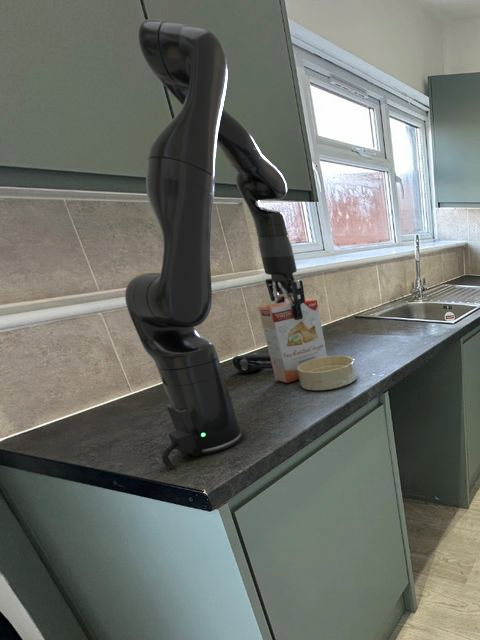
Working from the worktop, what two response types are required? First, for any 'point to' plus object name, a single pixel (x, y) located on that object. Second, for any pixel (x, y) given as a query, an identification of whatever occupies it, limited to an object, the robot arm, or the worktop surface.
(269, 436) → the worktop surface
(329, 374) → the bowl
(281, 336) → the cracker box
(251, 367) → the can opener
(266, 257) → the robot arm
